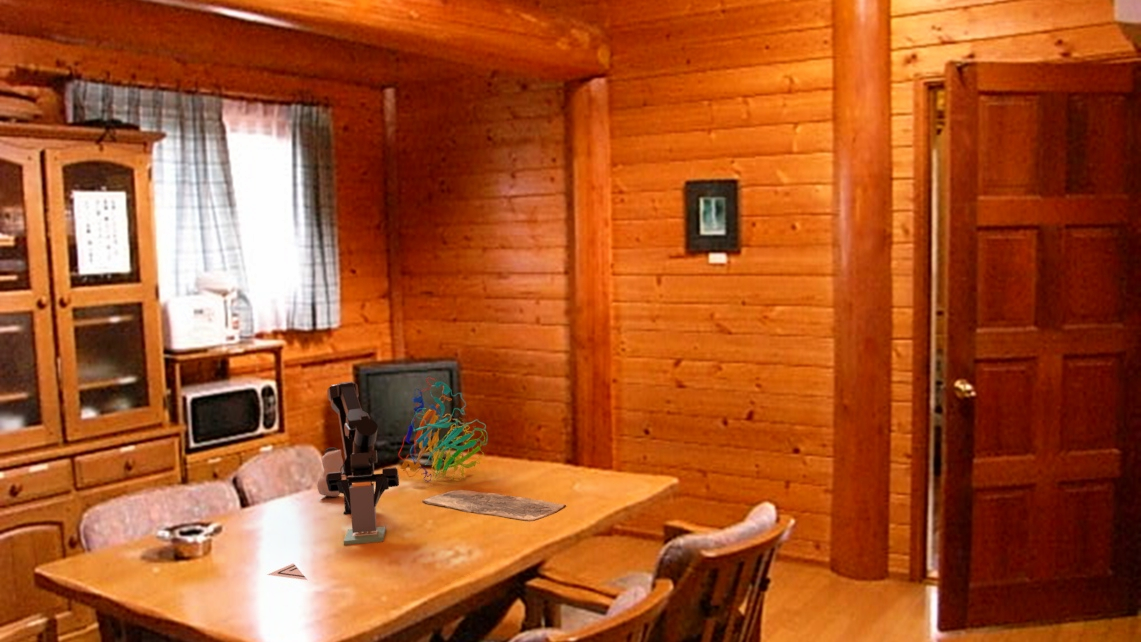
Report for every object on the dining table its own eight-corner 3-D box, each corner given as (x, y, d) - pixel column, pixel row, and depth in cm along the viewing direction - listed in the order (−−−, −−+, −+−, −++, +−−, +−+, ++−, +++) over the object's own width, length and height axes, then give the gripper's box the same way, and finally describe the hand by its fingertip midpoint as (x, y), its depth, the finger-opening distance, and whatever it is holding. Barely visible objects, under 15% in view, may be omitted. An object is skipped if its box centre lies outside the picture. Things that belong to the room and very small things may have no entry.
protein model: (514, 398, 338) (443, 362, 320) (499, 490, 323) (423, 459, 305) (457, 416, 358) (387, 383, 341) (440, 504, 343) (366, 475, 325)
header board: (348, 533, 271) (347, 518, 271) (385, 529, 272) (384, 515, 272) (343, 544, 260) (342, 529, 260) (382, 541, 261) (381, 526, 261)
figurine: (352, 493, 317) (349, 446, 315) (329, 501, 308) (325, 453, 307) (333, 491, 321) (329, 445, 320) (309, 499, 313) (305, 451, 312)
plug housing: (354, 529, 267) (350, 482, 266) (376, 527, 268) (373, 480, 267) (352, 532, 264) (349, 485, 263) (375, 530, 265) (372, 483, 264)
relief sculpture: (529, 522, 271) (529, 520, 271) (416, 502, 300) (416, 499, 300) (573, 507, 286) (573, 504, 286) (461, 489, 315) (461, 486, 315)
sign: (301, 559, 249) (399, 571, 236) (301, 560, 249) (399, 572, 236) (267, 574, 239) (367, 588, 225) (267, 575, 239) (367, 589, 225)
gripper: (324, 443, 267) (321, 493, 257) (395, 437, 269) (395, 487, 259) (330, 465, 276) (328, 515, 265) (398, 460, 278) (399, 510, 267)
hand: (362, 506), depth 264 cm, fingers closed on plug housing, 6 cm apart
